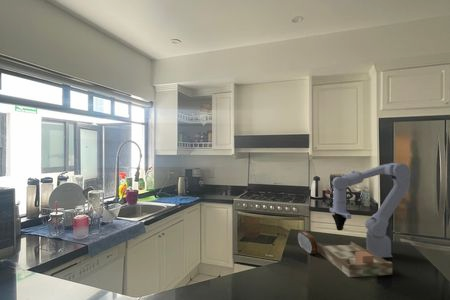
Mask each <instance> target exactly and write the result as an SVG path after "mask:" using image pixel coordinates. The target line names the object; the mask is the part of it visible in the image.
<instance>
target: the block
mask: <svg viewBox="0 0 450 300" xmlns="http://www.w3.org/2000/svg"><path fill="white" fill-rule="evenodd" d="M373 262H374V256H373V255H371V254H370V253H368V252H366V251H358V252H355V263H373Z"/></svg>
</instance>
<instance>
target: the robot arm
mask: <svg viewBox="0 0 450 300" xmlns="http://www.w3.org/2000/svg"><path fill="white" fill-rule="evenodd" d="M379 175H388V176H389V177H390V178H391V179H392V181H393V184H394V185H393V186H392V188H391V190H390V192H389V193H388V195H386V197H385V199H384V200H383V202H382V204H381V205H380V207H379V208H378V210H377V212H376V213H374V214H372V215H371V217H370V218H368V219H367V220H365V224H364V225H365V228H366V229H367V230H366V232H365V233H366V250H368V251H370V252H372V253H373V254H375V255H377V256H379V257H381V258H393V255H392V241H391V238H390V237H389V236H388V235H387V228H388V226H389V219H390V218H391V217H392V215H393V213H394V212H395V211H396V209H397V207H398V206H399V204H400V202H402V199H404V196H405V195H406V194H407V192H408V191H409V189H410V187H411V175H412V171H411V169H410V167H409V166H408V165H407V164H405V163H403V162H401V163H400V162H399V163H398V162H390V163H385V164H381V165H378V166H376V167H372V168H370V169H367V170H364V171H362V172H360V171H358V170H356V171H355V170H351V171H350V173H347V174H341V176H336V177H334V178H333V180H332V181H331V184H332V186H333V188H332V189H333V193H332V195H333V196H332V198H333V200H332V201H333V202H332V203H333V204H332V206H333V207H329V212H330V213H333V214H331V216H332V218H333V220H334V222H335V223H334V224H335V226H336V230H337V231H343V230H344V226H345V223H346V222H347V220H351V219H352V214H350V212H348V211H347V188H348V187H352V186H355V185H359V184H361V183H363V182H364V180H365V179H369V178H371V177H372V178H373V177H376V176H379Z"/></svg>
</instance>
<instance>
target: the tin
mask: <svg viewBox="0 0 450 300" xmlns="http://www.w3.org/2000/svg"><path fill="white" fill-rule="evenodd" d="M297 242H298V245H299V247H300V248H301V249H302V250H303V251H304V252H306V253H307V254H308V255H316V254H317V253H318V252H317V243H318V242H317V240H316V239H315V237H314V236H313V235H311V234H310V233H309V232H307V231H306V230H299V231H297Z"/></svg>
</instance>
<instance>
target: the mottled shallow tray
mask: <svg viewBox="0 0 450 300" xmlns="http://www.w3.org/2000/svg"><path fill="white" fill-rule="evenodd" d="M316 243H317V253H319V255H321V256H322V257H323V258H324V259H326V260H327V261H329V262H330V263H331V264H332V265H334V266H335V267H336V268H337V269H339V270H340V271H341V272H343V273H344V274H345V276H347V277H348V278H353V277H354V278H356V277H357V278H358V277H371V276H372V277H373V276H386V275H387V276H388V275H390V276H391V275H393V262H392V261H388V260H386V259H384V258H383V257H379V256H377V255H375V254H373V253H372V252H370V251H368V250H367V248H364V247H363V246H361V245H360V244H357V243H355V242H353V241H350V244H343V245H341V244H339V245H338V244H336V245H322V244H321V243H318V242H316ZM358 251H366V252H368V253H370V254H371V255H373V256H374V262H373V263H355V252H358Z"/></svg>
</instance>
